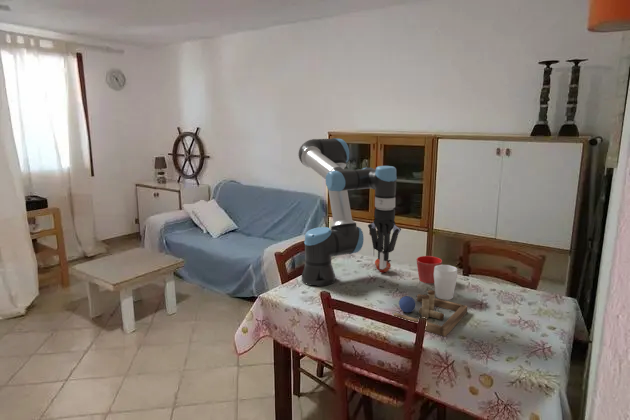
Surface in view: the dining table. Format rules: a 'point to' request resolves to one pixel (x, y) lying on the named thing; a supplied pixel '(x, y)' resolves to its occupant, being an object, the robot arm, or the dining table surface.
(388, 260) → the pomegranate
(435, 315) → the pin front
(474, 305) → the dining table surface
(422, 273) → the flower pot
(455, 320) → the tray
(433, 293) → the pin
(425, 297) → the pin
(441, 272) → the cup
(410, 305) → the ball
